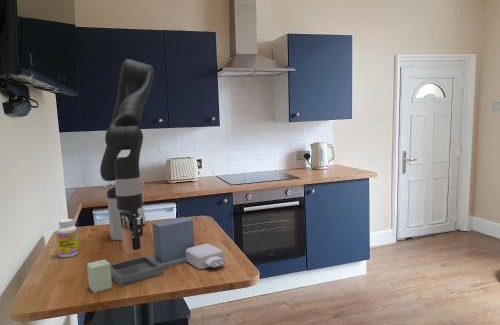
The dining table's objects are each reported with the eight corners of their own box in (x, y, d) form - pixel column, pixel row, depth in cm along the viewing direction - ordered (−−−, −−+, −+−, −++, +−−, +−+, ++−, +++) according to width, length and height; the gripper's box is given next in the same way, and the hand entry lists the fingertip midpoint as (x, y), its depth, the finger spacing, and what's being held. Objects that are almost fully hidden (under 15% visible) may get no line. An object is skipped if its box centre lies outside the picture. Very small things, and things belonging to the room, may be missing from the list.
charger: (207, 276, 112) (186, 262, 124) (233, 268, 117) (210, 256, 129) (207, 260, 111) (185, 248, 123) (233, 253, 116) (209, 242, 129)
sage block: (89, 287, 107) (86, 263, 107) (107, 282, 110) (105, 259, 110) (93, 293, 103) (91, 268, 103) (112, 287, 106) (110, 263, 106)
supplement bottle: (57, 259, 133) (53, 223, 131) (60, 253, 139) (57, 219, 138) (77, 256, 134) (74, 221, 133) (80, 250, 141) (77, 217, 140)
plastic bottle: (148, 223, 177) (144, 181, 175) (142, 227, 171) (139, 183, 169) (134, 223, 178) (131, 181, 176) (128, 227, 171) (125, 184, 169)
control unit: (149, 260, 127) (147, 222, 126) (187, 250, 135) (184, 215, 134) (161, 268, 119) (159, 228, 118) (200, 257, 127) (198, 220, 126)
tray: (107, 273, 117) (106, 265, 117) (147, 262, 125) (146, 255, 124) (120, 286, 107) (119, 278, 106) (163, 274, 114) (162, 266, 114)
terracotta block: (122, 250, 115) (121, 227, 115) (138, 246, 118) (137, 224, 118) (128, 254, 111) (126, 231, 111) (144, 250, 114) (142, 227, 114)
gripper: (150, 193, 110) (154, 250, 111) (132, 188, 121) (137, 239, 123) (124, 197, 105) (129, 256, 107) (109, 191, 117) (113, 244, 118)
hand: (133, 247), depth 115 cm, fingers closed on terracotta block, 5 cm apart
